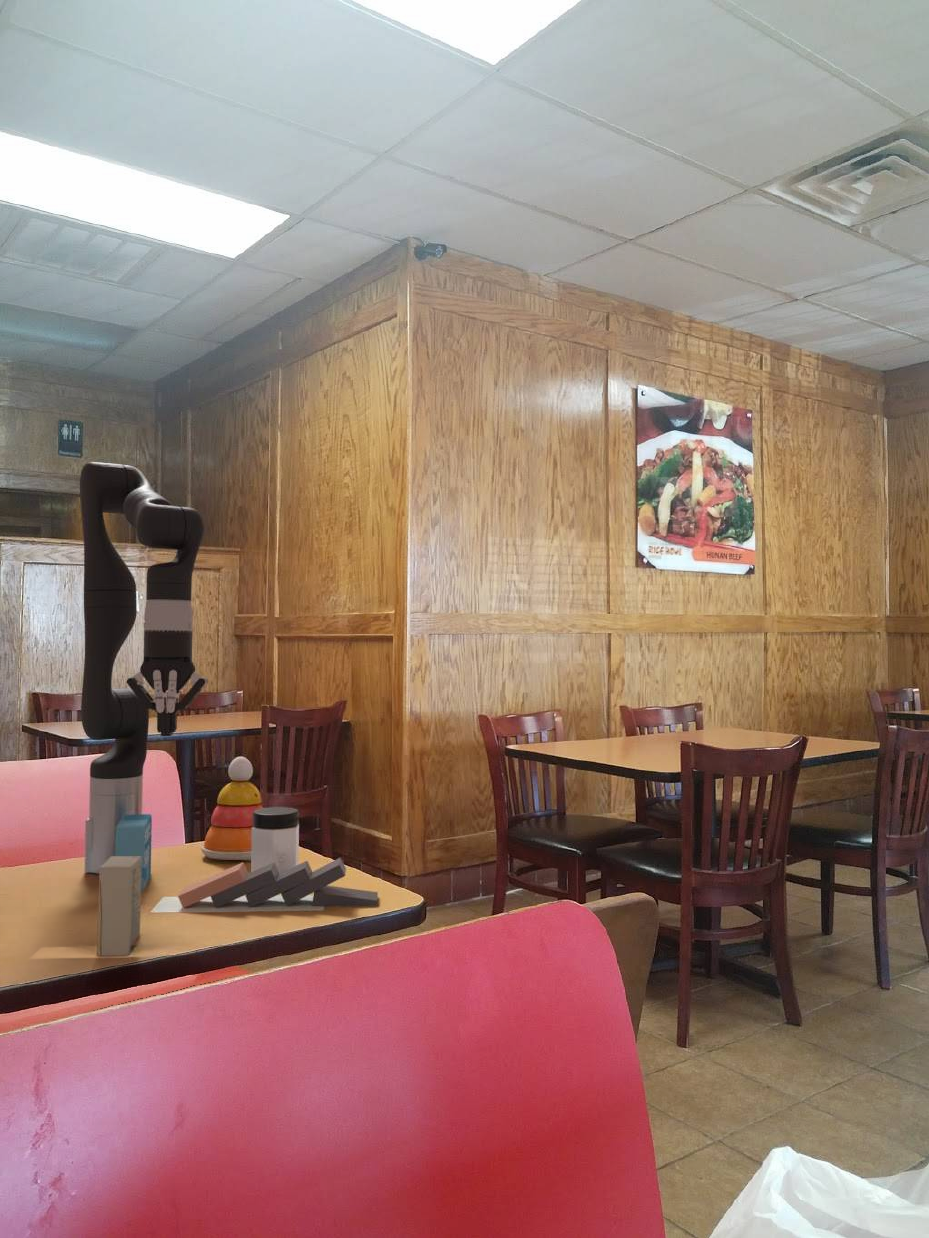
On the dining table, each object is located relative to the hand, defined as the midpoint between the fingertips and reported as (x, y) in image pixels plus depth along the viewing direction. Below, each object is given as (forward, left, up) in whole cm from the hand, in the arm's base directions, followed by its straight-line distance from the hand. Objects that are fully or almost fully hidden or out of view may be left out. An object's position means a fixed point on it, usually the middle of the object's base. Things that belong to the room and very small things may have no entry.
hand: (166, 735), depth 155 cm
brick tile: (+4, -5, -25) cm, 26 cm away
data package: (-7, +9, -27) cm, 30 cm away
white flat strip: (+13, -5, -27) cm, 30 cm away
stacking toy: (+7, +34, -27) cm, 44 cm away
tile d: (+20, -5, -25) cm, 32 cm away
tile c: (+14, -5, -25) cm, 29 cm away
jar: (+16, +16, -27) cm, 35 cm away
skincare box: (-1, -23, -27) cm, 36 cm away
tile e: (+24, -5, -24) cm, 35 cm away
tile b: (+9, -5, -25) cm, 27 cm away
